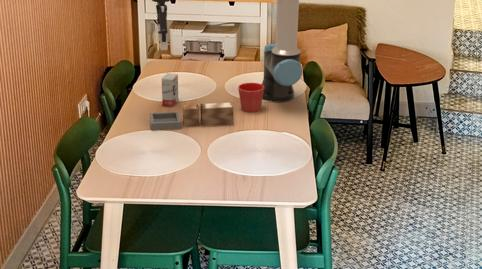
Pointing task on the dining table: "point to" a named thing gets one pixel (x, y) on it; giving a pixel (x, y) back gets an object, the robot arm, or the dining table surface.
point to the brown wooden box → (216, 114)
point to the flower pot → (251, 96)
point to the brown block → (191, 115)
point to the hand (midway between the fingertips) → (162, 45)
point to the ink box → (169, 89)
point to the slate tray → (165, 121)
